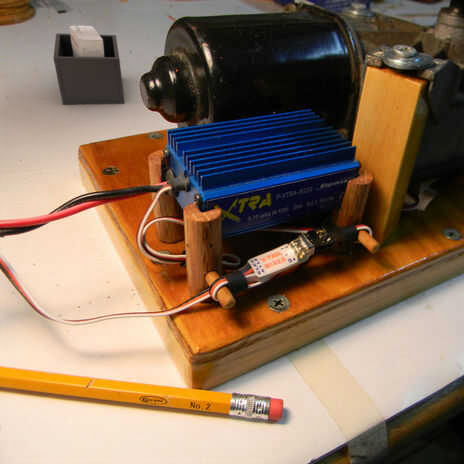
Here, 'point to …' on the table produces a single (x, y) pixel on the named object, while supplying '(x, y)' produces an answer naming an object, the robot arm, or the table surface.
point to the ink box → (86, 42)
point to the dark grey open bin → (88, 73)
